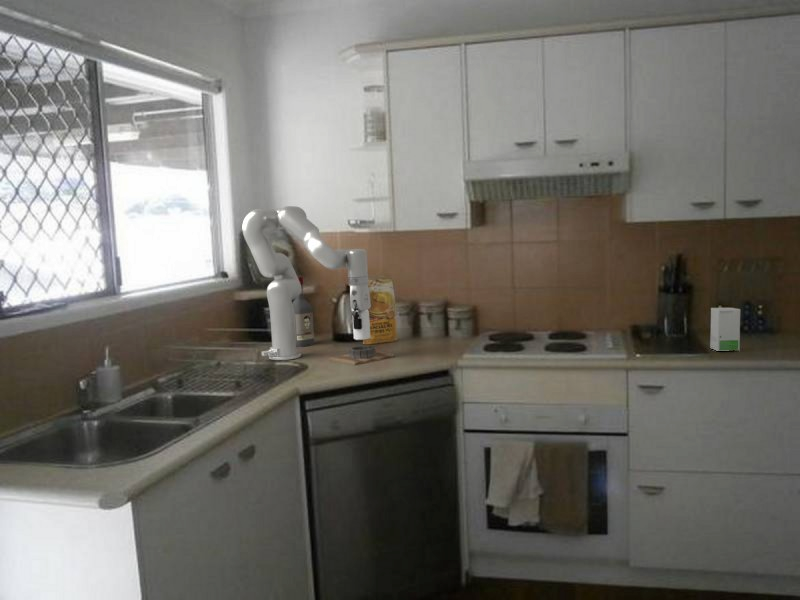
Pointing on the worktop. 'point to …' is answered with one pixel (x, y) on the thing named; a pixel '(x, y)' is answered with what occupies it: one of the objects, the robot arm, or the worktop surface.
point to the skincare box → (725, 329)
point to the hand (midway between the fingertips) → (361, 327)
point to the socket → (361, 355)
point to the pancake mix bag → (382, 311)
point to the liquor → (303, 320)
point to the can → (363, 327)
